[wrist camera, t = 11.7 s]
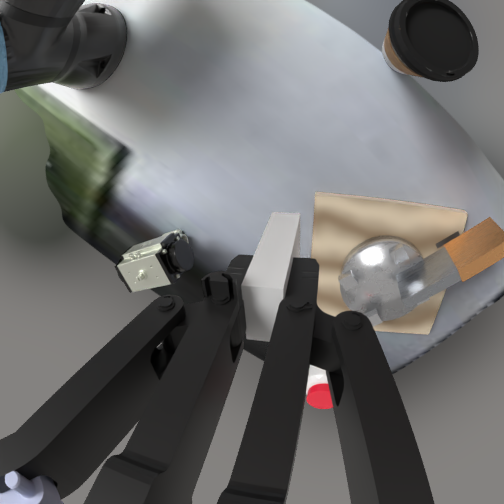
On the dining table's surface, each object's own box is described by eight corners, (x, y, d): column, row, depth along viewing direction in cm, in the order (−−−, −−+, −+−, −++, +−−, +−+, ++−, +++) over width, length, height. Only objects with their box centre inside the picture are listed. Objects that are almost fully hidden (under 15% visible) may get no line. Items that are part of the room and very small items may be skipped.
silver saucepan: (365, 322, 47) (366, 360, 40) (323, 263, 44) (319, 298, 37) (497, 252, 35) (520, 283, 28) (470, 177, 32) (497, 198, 25)
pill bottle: (357, 354, 53) (356, 402, 44) (326, 371, 57) (320, 416, 48) (330, 331, 52) (325, 380, 43) (299, 350, 56) (289, 397, 47)
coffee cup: (378, 85, 32) (405, 80, 19) (365, 23, 28) (382, -13, 16) (439, 84, 29) (492, 84, 17) (427, 23, 26) (471, -6, 13)
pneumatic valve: (212, 243, 49) (179, 286, 39) (156, 258, 54) (119, 298, 44) (197, 212, 47) (159, 249, 37) (142, 231, 52) (101, 267, 41)
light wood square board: (315, 191, 41) (314, 195, 40) (464, 209, 36) (468, 214, 35) (305, 317, 52) (304, 324, 50) (427, 328, 47) (428, 335, 45)
